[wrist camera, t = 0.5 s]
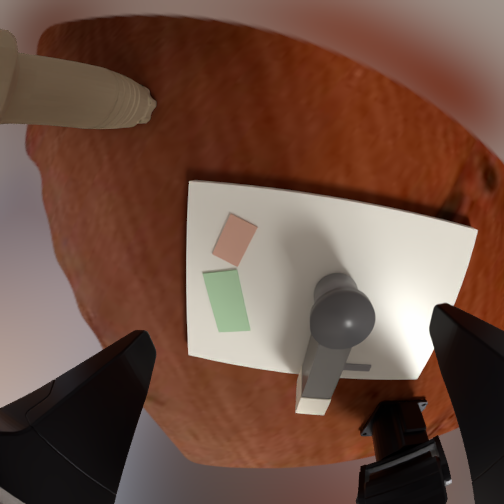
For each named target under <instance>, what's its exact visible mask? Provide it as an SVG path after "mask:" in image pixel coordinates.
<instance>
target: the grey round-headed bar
mask: <svg viewBox="0 0 504 504" xmlns="http://www.w3.org/2000/svg"><path fill="white" fill-rule="evenodd" d="M374 325H375V311H374V308H373V306H372V304H371V302H370V300H369V298H368V297H367V296H366V295H365V294H364V293H363V292H361V291H359V290H358V287H357V285H356V283H355V281H354V280H353V279H352V278H351V277H350V276H348V275H346V274H343V273H332V274H329V275H327V276H325V277H323V278H322V279H321V280H320V281H319V282H318V283H317V285H316V287H315V289H314V305H313V306H312V308H311V311H310V331H311V336H310V340H309V343H308V347H307V351H306V354H305V358H304V361H303V365H302V366H301V369H300V373H299V376H298V379H297V389H296V411H295V413H301V414H313V415H324V414H325V412H326V410H327V408H328V406H329V403H330V401H331V397H332V394H333V392H334V390H335V388H336V385H337V383H338V381H339V378H340V376H341V374H342V371H343V369H344V366H345V364H346V361H347V359H348V356H349V354H350V351H351V348H352V347H353V346H356V345H358V344H359V343H361V342H362V341H364V340H365V339H366V338H367V337H368V336H369V334H370V333H371V331H372V330H373V327H374Z"/></svg>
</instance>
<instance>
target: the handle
mask: <svg viewBox="0 0 504 504" xmlns="http://www.w3.org/2000/svg"><path fill="white" fill-rule="evenodd" d="M154 108H156V101H155V100H154V99H153V98H152V97H151V95H150V90H149V89H147V88H146V87H144V86H143V85H140V84H138V83H137V82H135V81H133V80H132V79H130V78H128V77H125V76H124V75H121V74H119V73H116V72H114V71H111V70H108V69H106V68H102V67H98V66H93V65H89V64H84V63H79V62H74V61H68V60H63V59H57V58H51V57H44V56H37V55H29V54H24V53H18V48H17V42H16V38H15V36H14V35H13V34H12V33H10V32H9V31H8V30H2V29H0V124H39V125H53V126H64V127H74V128H83V129H116V128H127V127H134V126H135V125H136V124H138V123H147V122H148V121H149V120H150V119H151V113H152V111H153V110H154Z"/></svg>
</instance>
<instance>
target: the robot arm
mask: <svg viewBox="0 0 504 504" xmlns="http://www.w3.org/2000/svg"><path fill="white" fill-rule="evenodd" d="M429 333H430V337H431V340H432V343H433V346H434V350H435V353H436V357H437V360H438V364H439V368H440V371H441V374H442V377H443V380H444V382H445V385H446V388H447V391H448V393H449V396H450V399H451V402H452V405H453V408H454V411H455V415H456V418H457V421H458V424H459V428H460V431H461V435H462V438H463V442H464V447H465V451H466V455H467V459H468V464H469V469H470V474H471V479H472V481H473V482H472V486H473V492H474V500H475V504H504V331H503V330H501V329H499V328H497V327H495V326H493V325H491V324H489V323H487V322H485V321H483V320H481V319H479V318H477V317H475V316H473V315H471V314H469V313H467V312H465V311H463V310H461V309H459V308H457V307H454V306H452V305H450V304H448V303H441V304H437V305H435V306H434V308H433V312H432V317H431V321H430V325H429ZM155 359H156V349H155V346H154V344H153V342H152V340H151V338H150V335H149V333H148V332H147V331H145V330H135V331H133V332H131V333H129V334H128V335H126V336H125V337H123V338H121V339H120V340H118V341H116V342H115V343H113V344H112V345H110V346H108V347H107V348H105V349H103V350H102V351H100V352H99V353H97V354H95V355H94V356H92V357H90V358H89V359H87V360H85V361H84V362H82V363H80V364H79V365H77V366H76V367H74V368H72V369H71V370H69V371H67V372H66V373H64V374H62V375H61V376H59V377H57V378H56V379H55V380H52V381H51V382H49V383H47V384H46V385H44V386H42V387H41V388H39V389H37V390H35V391H33V392H32V393H30V394H28V395H26V396H24V397H22V398H20V399H18V400H16V401H14V402H12V403H10V404H8V405H6V406H4V407H2V408H0V504H114V503H115V498H116V494H117V490H118V487H119V483H120V480H121V476H122V472H123V469H124V465H125V462H126V459H127V455H128V452H129V449H130V445H131V442H132V439H133V436H134V433H135V429H136V426H137V423H138V420H139V417H140V414H141V411H142V408H143V405H144V402H145V399H146V396H147V393H148V389H149V384H150V380H151V376H152V371H153V367H154V363H155ZM427 404H428V403H427V400H414V401H393V402H381V403H380V404H379V405H378V406H377V408H376V410H375V411H374V413H373V414H372V416H371V417H370V419H369V420H368V422H367V423H366V425H365V426H364V428H363V429H362V431H361V432H360V434H361V436H372V437H373V444H374V450H375V457H376V462H374V463H371V464H368V465H363V466H361V469H360V470H361V471H360V472H359V487H358V495H357V499H356V504H446V502H447V493H446V488H445V486H447V485H449V484H451V475H450V471H449V467H448V463H447V460H446V457H445V454H444V451H443V448H442V445H441V442H440V440H439V437H438V435H437V436H435V437H433V439H431V440H429V439H428V436H427V433H426V425H425V422H424V419H423V416H422V413H421V412H422V411H423V410H424V408H425V407H426V405H427Z"/></svg>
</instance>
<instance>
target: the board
mask: <svg viewBox="0 0 504 504" xmlns="http://www.w3.org/2000/svg"><path fill="white" fill-rule="evenodd" d="M477 231H478V230H477V229H475V228H473V227H470V226H467V225H463V224H459V223H456V222H452V221H448V220H444V219H440V218H436V217H432V216H428V215H424V214H419V213H415V212H410V211H406V210H401V209H397V208H392V207H387V206H382V205H377V204H372V203H367V202H362V201H356V200H351V199H345V198H339V197H333V196H327V195H321V194H314V193H308V192H301V191H294V190H286V189H279V188H271V187H263V186H254V185H245V184H235V183H225V182H214V181H202V180H192V181H189V190H188V212H187V250H186V295H187V332H188V354H189V355H192V356H196V357H200V358H205V359H209V360H214V361H219V362H224V363H229V364H234V365H240V366H245V367H251V368H257V369H264V370H270V371H278V372H285V373H293V374H299V373H300V369H301V366H302V365H303V361H304V358H305V354H306V351H307V347H308V343H309V340H310V336H311V331H310V311H311V308H312V306H313V305H314V289H315V287H316V285H317V283H318V282H319V281H320V280H321V279H322V278H323V277H325V276H327V275H329V274H332V273H343V274H346V275H348V276H350V277H351V278H352V279H353V280H354V281H355V283H356V285H357V287H358V290H359V291H361V292H363V293H364V294H365V295H366V296H367V297H368V298H369V300H370V302H371V304H372V306H373V308H374V311H375V325H374V327H373V330H372V331H371V333H370V334H369V336H368V337H367V338H366V339H365V340H364V341H362V342H361V343H359V344H358V345H356V346H353V347H352V348H351V351H350V354H349V356H348V359H347V361H346V364H345V366H344V369H343V371H342V374H341V376H340V378H351V379H378V380H408V379H417V378H418V377H419V375H420V373H421V371H422V370H423V368H424V366H425V364H426V363H427V361H428V359H429V357H430V355H431V353H432V351H433V349H434V346H433V343H432V340H431V337H430V333H429V325H430V321H431V317H432V312H433V308H434V306H435V305H437V304H441V303H448V304H450V305H452V306H454V303H455V301H456V298H457V296H458V293H459V290H460V288H461V285H462V282H463V279H464V276H465V273H466V270H467V267H468V264H469V261H470V257H471V254H472V250H473V247H474V243H475V239H476V235H477Z"/></svg>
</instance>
